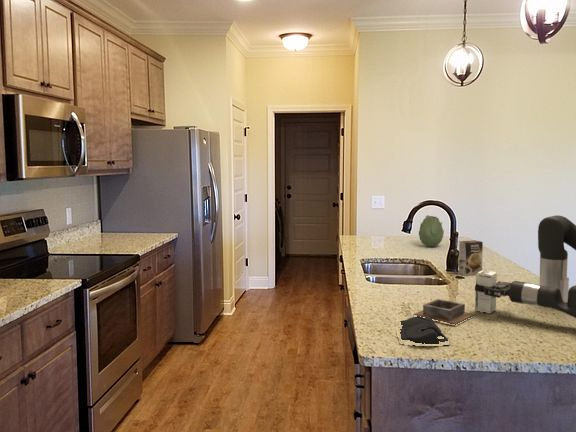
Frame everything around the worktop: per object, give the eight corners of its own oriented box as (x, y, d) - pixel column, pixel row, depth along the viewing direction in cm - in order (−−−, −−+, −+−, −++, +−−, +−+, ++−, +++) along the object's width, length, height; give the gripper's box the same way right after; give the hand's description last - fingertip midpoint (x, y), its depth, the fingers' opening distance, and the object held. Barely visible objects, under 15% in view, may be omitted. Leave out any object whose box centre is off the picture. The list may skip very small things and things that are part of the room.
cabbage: (420, 249, 309) (420, 217, 306) (416, 244, 327) (416, 214, 325) (446, 249, 307) (446, 217, 304) (441, 244, 325) (441, 214, 323)
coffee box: (466, 276, 235) (466, 242, 233) (458, 273, 241) (458, 241, 239) (482, 274, 237) (483, 241, 235) (474, 271, 243) (474, 239, 242)
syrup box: (480, 307, 185) (480, 269, 183) (496, 310, 181) (497, 271, 180) (474, 311, 181) (475, 272, 179) (491, 314, 177) (492, 274, 175)
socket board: (474, 316, 175) (474, 304, 174) (455, 326, 165) (455, 313, 165) (433, 308, 186) (433, 296, 186) (413, 316, 177) (413, 304, 176)
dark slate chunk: (438, 325, 169) (438, 311, 168) (451, 349, 147) (451, 333, 146) (393, 324, 171) (392, 311, 170) (399, 348, 149) (399, 333, 148)
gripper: (518, 308, 165) (470, 299, 177) (534, 299, 175) (487, 291, 187) (518, 286, 164) (470, 279, 176) (534, 278, 174) (488, 272, 186)
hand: (479, 285), depth 182 cm, fingers closed on syrup box, 6 cm apart
